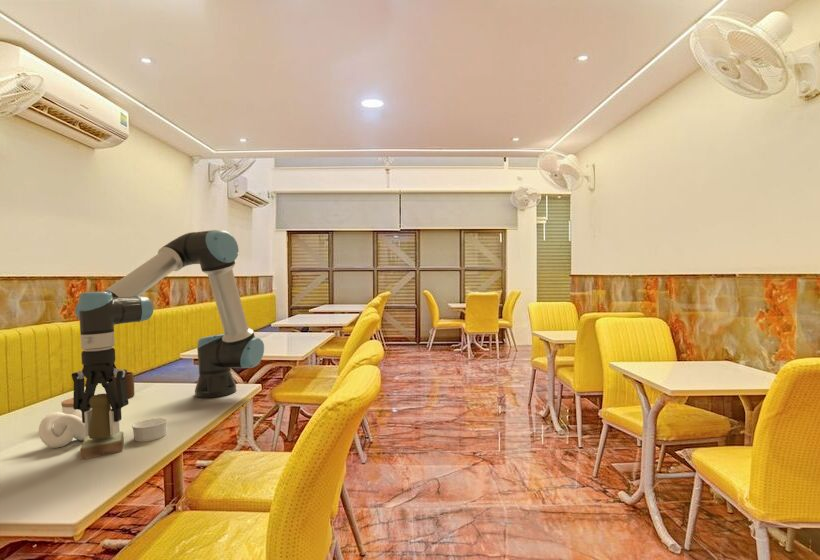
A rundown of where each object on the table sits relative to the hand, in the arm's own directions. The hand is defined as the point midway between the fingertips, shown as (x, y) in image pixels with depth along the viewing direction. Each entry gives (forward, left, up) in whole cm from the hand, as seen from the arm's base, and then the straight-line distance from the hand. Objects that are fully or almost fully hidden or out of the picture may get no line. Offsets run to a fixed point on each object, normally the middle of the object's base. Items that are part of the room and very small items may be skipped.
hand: (102, 433), depth 123 cm
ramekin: (-11, -4, -5) cm, 13 cm away
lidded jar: (+8, -34, -5) cm, 36 cm away
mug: (-2, -62, -5) cm, 63 cm away
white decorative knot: (+9, -13, -5) cm, 16 cm away
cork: (0, 0, 0) cm, 0 cm away
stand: (0, 0, -4) cm, 4 cm away
